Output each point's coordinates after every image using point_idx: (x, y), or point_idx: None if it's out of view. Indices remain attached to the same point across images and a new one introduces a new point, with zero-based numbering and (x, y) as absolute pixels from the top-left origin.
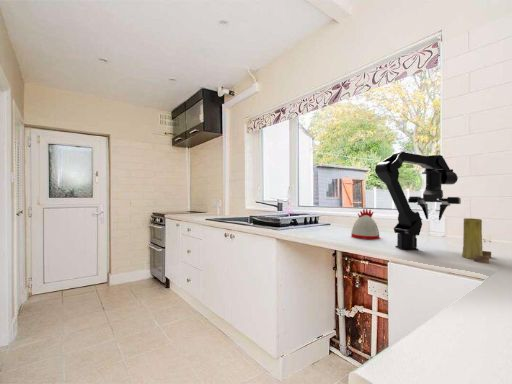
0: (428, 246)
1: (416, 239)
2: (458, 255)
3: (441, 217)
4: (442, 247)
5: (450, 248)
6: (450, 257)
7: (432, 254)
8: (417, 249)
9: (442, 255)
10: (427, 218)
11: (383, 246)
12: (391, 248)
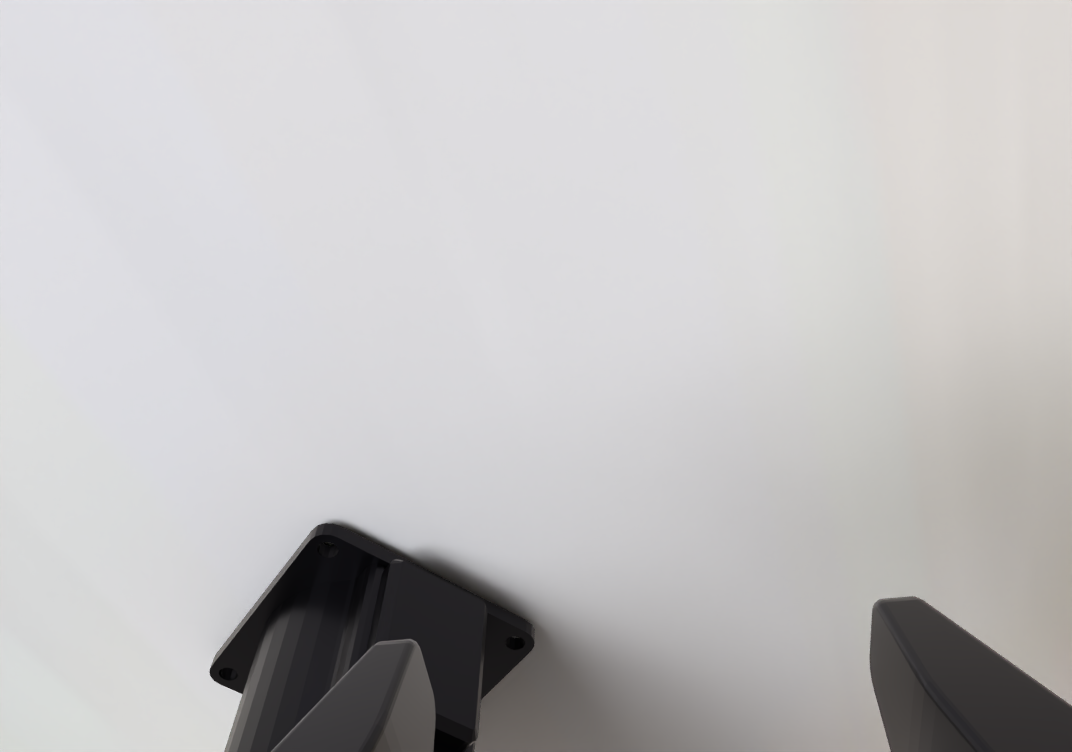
0: (509, 183)
1: (477, 723)
2: (1066, 560)
3: (999, 656)
4: (757, 55)
5: (918, 36)
6: None
7: (764, 718)
8: (529, 645)
9: None
10: (432, 733)
11: (91, 712)
12: None
